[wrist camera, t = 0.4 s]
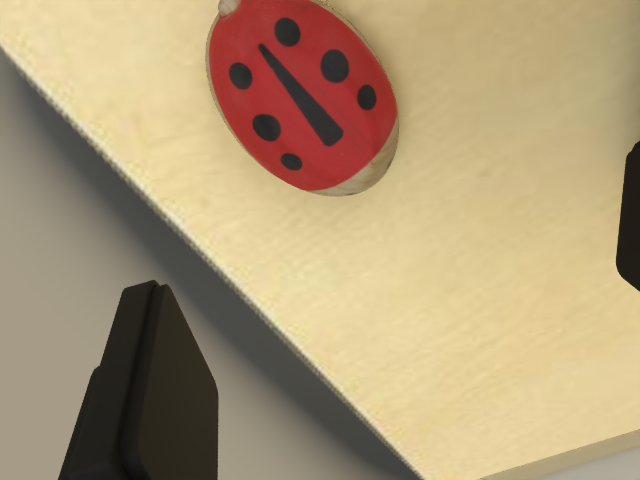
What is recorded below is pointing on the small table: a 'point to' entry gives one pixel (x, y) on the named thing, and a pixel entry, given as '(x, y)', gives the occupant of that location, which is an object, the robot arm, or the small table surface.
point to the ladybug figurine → (302, 94)
